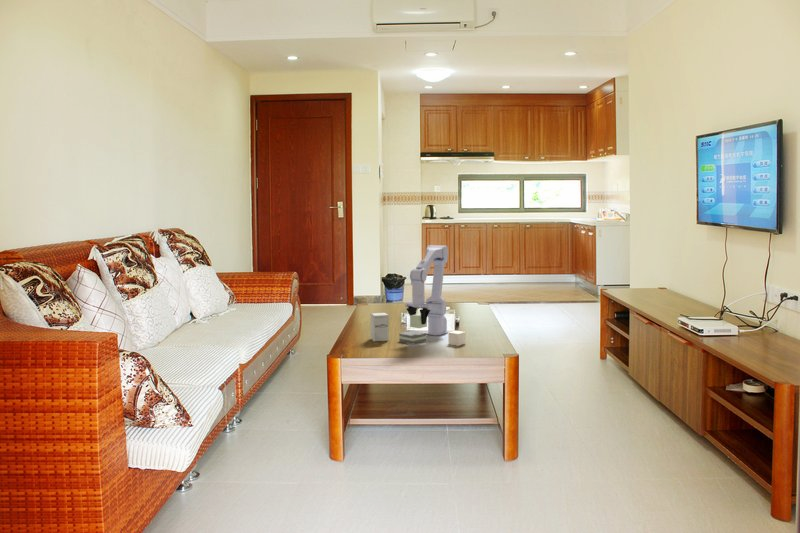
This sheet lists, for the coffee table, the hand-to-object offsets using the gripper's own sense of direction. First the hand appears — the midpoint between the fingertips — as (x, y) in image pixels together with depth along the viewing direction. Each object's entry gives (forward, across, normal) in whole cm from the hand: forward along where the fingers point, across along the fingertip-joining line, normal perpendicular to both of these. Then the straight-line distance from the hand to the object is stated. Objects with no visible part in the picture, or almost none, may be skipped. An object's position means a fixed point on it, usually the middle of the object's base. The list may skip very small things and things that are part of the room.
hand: (418, 323), depth 320 cm
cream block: (+9, +16, +8) cm, 20 cm away
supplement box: (+9, -18, -8) cm, 21 cm away
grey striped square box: (+9, -4, 0) cm, 10 cm away
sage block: (+2, 0, 0) cm, 2 cm away
